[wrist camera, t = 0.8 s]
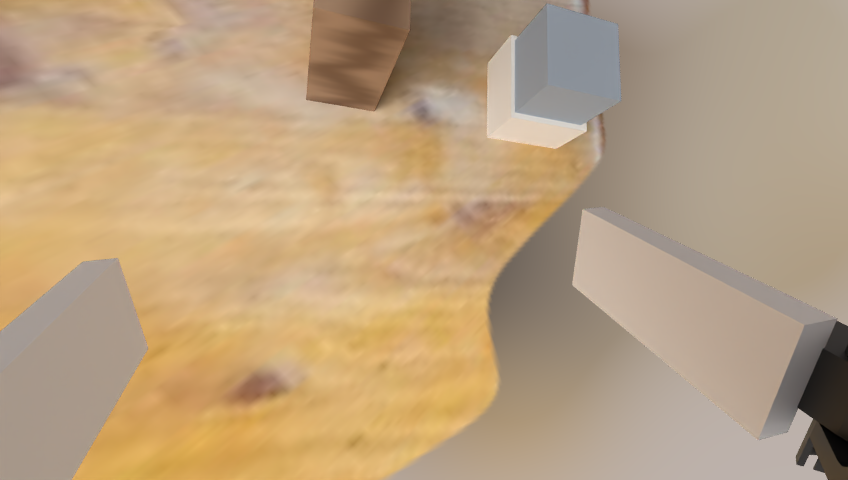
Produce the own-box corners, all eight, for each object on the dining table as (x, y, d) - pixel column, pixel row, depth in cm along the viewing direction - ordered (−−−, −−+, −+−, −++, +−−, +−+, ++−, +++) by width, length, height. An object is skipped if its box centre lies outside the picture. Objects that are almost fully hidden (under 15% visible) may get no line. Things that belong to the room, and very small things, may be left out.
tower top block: (514, 112, 37) (547, 84, 32) (514, 40, 38) (546, 3, 33) (581, 125, 39) (621, 100, 34) (579, 56, 40) (618, 23, 35)
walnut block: (306, 99, 36) (313, 7, 25) (311, 36, 37) (320, -80, 26) (374, 111, 38) (409, 30, 26) (377, 51, 39) (413, -53, 27)
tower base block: (485, 138, 41) (511, 117, 36) (486, 64, 42) (511, 34, 38) (554, 149, 44) (586, 131, 39) (553, 79, 45) (584, 53, 40)
